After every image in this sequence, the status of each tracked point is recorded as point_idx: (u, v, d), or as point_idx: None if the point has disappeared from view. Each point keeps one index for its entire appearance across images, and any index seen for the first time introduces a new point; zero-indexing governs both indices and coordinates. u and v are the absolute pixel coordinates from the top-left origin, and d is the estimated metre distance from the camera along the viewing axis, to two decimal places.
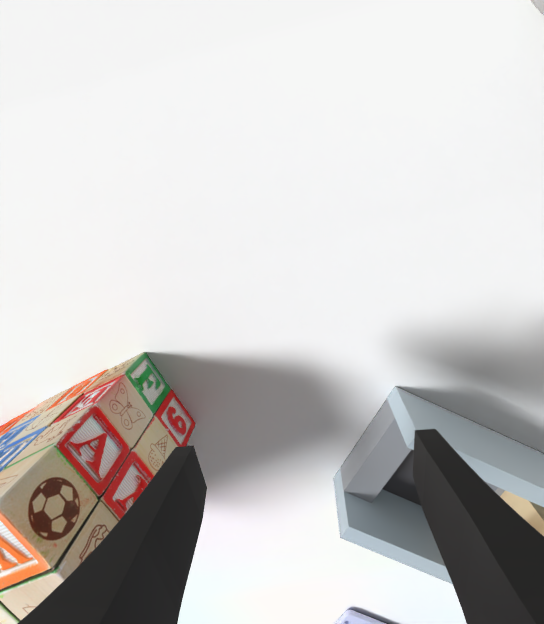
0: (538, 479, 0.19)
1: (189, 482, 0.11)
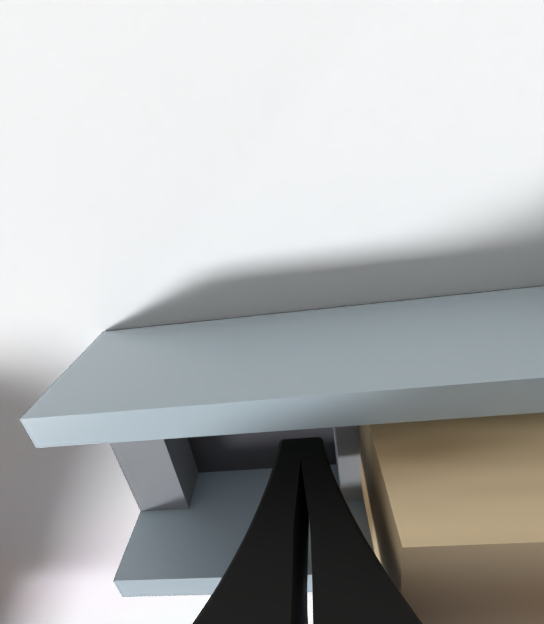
0: (325, 374, 0.09)
1: (303, 475, 0.11)
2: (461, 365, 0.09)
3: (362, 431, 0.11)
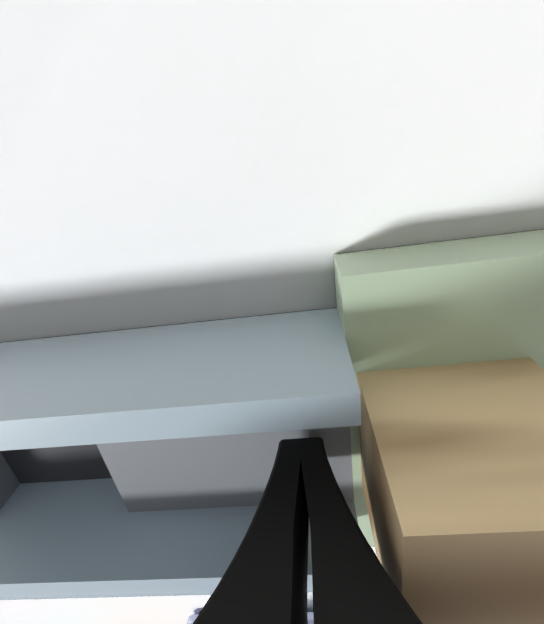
0: (13, 401, 0.10)
1: (303, 475, 0.11)
2: (123, 393, 0.09)
3: (362, 423, 0.11)
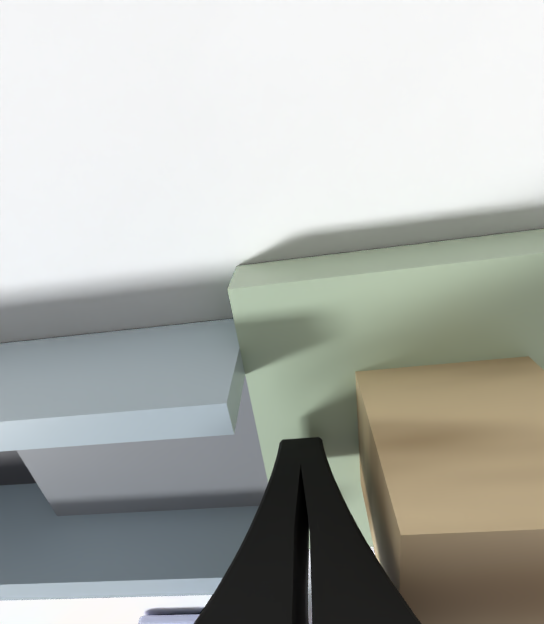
0: None
1: None
2: (14, 403, 0.10)
3: (361, 422, 0.11)
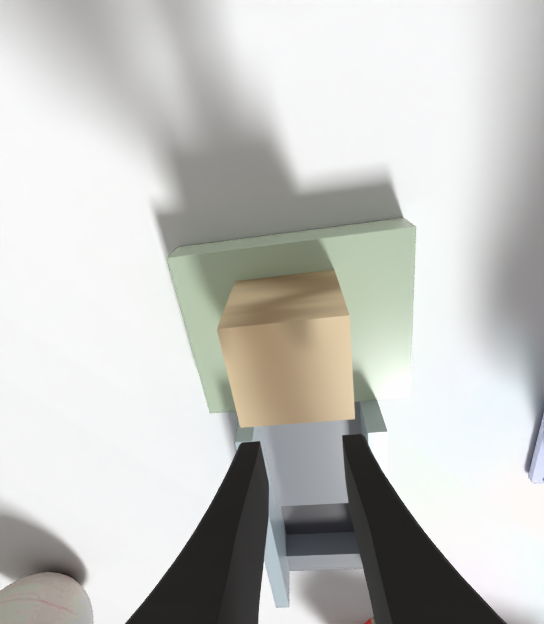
0: None
1: (260, 478, 0.11)
2: None
3: None
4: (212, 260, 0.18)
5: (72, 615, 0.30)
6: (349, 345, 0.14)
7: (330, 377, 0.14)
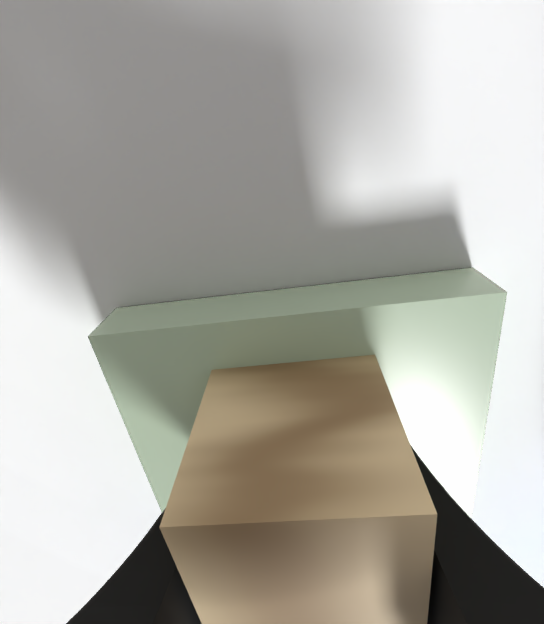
0: None
1: None
2: None
3: None
4: (162, 340, 0.11)
5: None
6: (429, 558, 0.07)
7: (385, 600, 0.07)
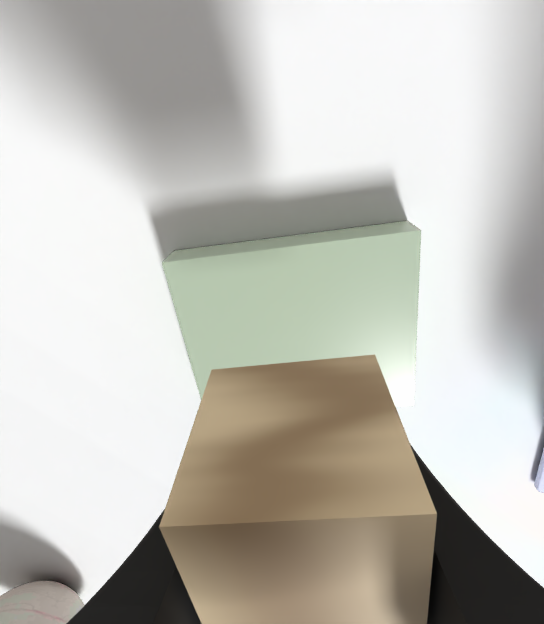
0: None
1: None
2: None
3: None
4: (209, 265, 0.17)
5: None
6: (429, 558, 0.07)
7: (385, 599, 0.07)
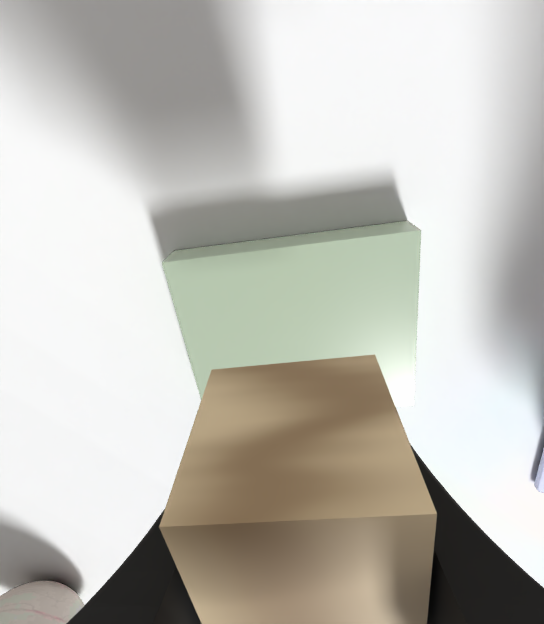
0: None
1: None
2: None
3: None
4: (209, 265, 0.17)
5: None
6: (429, 558, 0.07)
7: (385, 599, 0.07)
